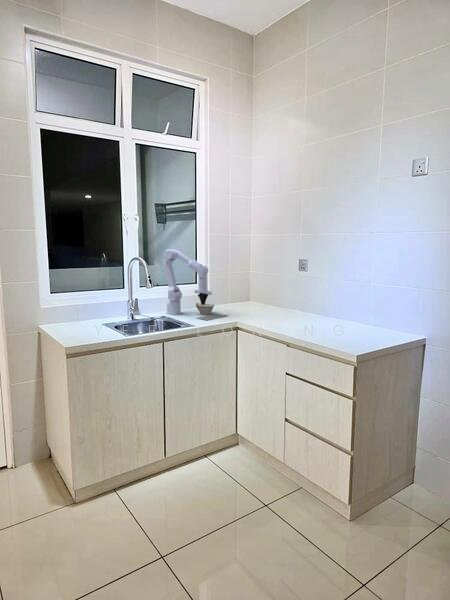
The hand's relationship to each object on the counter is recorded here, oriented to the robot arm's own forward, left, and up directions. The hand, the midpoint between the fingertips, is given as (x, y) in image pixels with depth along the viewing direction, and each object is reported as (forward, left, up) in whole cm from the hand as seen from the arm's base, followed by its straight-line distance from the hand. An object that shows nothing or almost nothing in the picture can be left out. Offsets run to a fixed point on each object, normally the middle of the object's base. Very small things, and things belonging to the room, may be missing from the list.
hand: (203, 304), depth 261 cm
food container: (0, +2, -6) cm, 6 cm away
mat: (+9, 0, -8) cm, 12 cm away
